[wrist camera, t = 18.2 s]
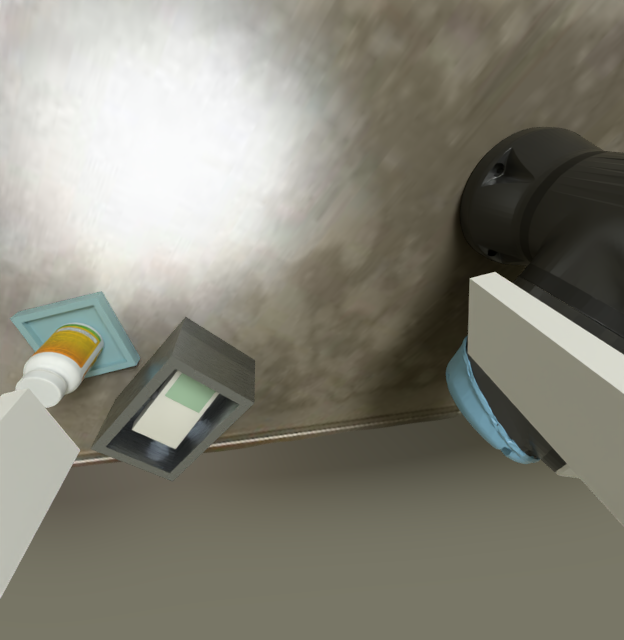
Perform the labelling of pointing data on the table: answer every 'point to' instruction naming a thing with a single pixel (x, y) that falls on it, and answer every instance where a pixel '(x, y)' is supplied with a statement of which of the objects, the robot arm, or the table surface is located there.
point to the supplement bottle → (61, 362)
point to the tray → (87, 311)
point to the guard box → (175, 353)
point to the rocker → (174, 409)
